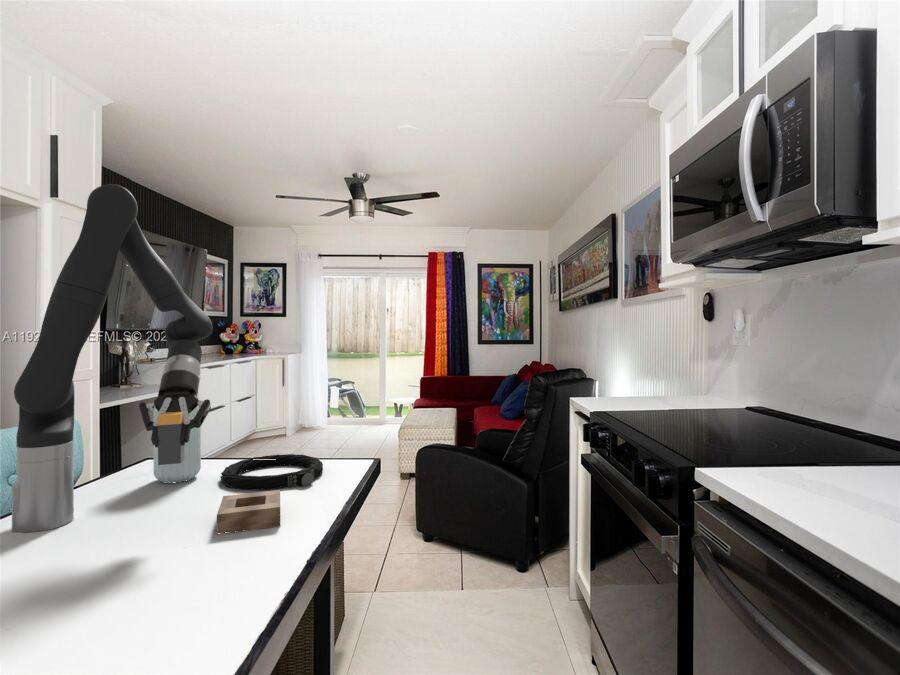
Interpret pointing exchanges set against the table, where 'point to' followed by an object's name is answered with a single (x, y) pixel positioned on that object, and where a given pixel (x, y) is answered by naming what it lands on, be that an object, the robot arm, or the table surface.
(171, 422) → the connector plug
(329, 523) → the table surface
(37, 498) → the robot arm
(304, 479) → the cable lock
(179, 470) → the vase
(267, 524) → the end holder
